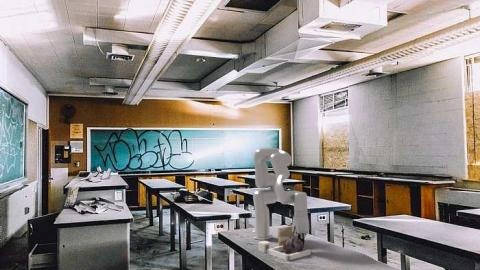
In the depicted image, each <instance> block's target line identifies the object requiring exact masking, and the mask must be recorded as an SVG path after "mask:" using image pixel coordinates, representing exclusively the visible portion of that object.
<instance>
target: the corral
mask: <svg viewBox="0 0 480 270" xmlns="http://www.w3.org/2000/svg"><path fill="white" fill-rule="evenodd" d="M277 246H278V245H277ZM311 252H312V251H311V249H304V250H302V251H301V252H297V253H293V254H291V253H285V252H284V249H283V246H278V247H276V246H275V247H272V248H271V247H270V249H267V252H266V254H267V255H271V256H274V257H276V258H279V259H282V260H285V261H292V260H296V259H299V258H304V257H306V256H310V255H311V254H312V253H311Z"/></svg>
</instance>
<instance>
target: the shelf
mask: <svg viewBox="0 0 480 270" xmlns="http://www.w3.org/2000/svg"><path fill="white" fill-rule="evenodd" d="M288 237H296V238H298V237H297V236H294V233H293V232H292V225H289V226H284V227H278V228H277V245H275V247H278V246H283V245H284V244H286V242H287V239H288ZM306 244H307V243H306V242H305V241H304V246H305V245H306Z"/></svg>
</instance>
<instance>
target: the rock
mask: <svg viewBox="0 0 480 270" xmlns="http://www.w3.org/2000/svg"><path fill="white" fill-rule="evenodd" d="M283 249H284V251H283V253H284V254H293V253H297V252H301V251H303V249H304V246H303V242H302V240H300V239H298V238H296V237H288V239H287V242H286V244H284V245H283Z"/></svg>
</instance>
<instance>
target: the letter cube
mask: <svg viewBox="0 0 480 270" xmlns="http://www.w3.org/2000/svg"><path fill="white" fill-rule="evenodd" d="M270 248H271V242H269V241H268V240H261V241H258V244H257V249H258V250H257V251H258V252H261V253H267V249H270Z"/></svg>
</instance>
